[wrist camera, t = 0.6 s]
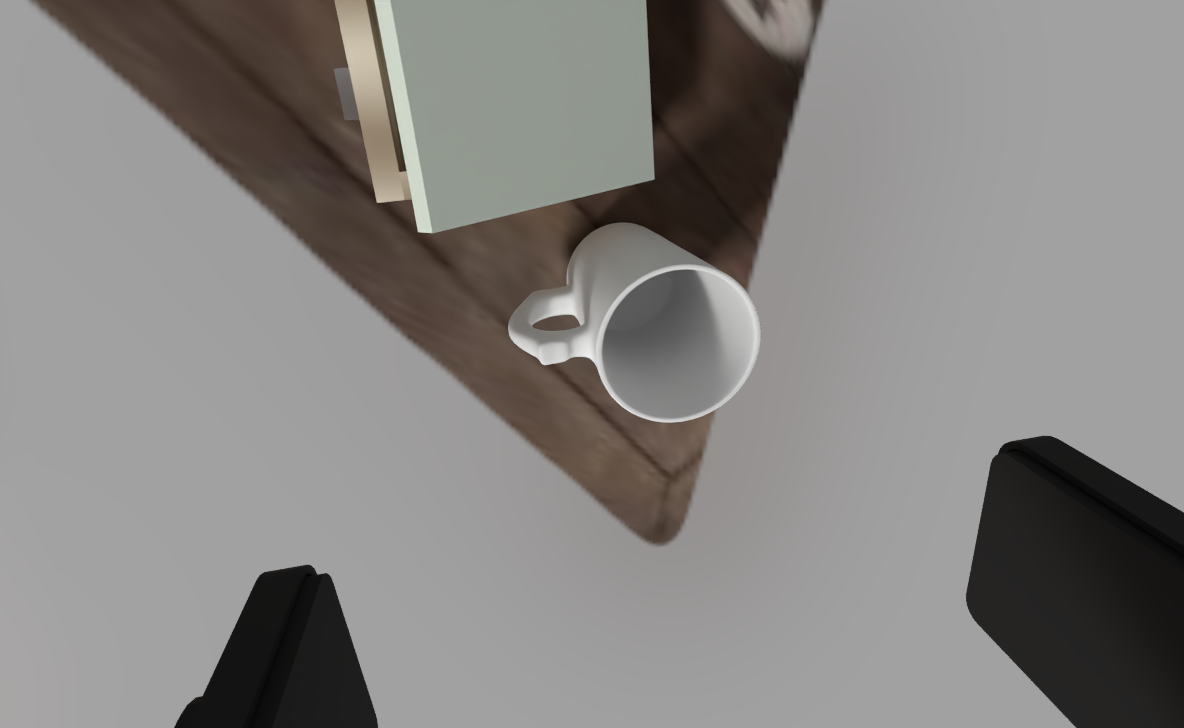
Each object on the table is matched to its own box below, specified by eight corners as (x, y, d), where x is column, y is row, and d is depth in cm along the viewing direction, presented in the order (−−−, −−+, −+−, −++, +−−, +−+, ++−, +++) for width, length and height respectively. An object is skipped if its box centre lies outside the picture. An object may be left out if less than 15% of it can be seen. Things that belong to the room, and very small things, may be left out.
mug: (675, 211, 35) (763, 255, 24) (678, 324, 38) (758, 410, 27) (495, 229, 34) (502, 284, 23) (510, 345, 37) (523, 444, 26)
